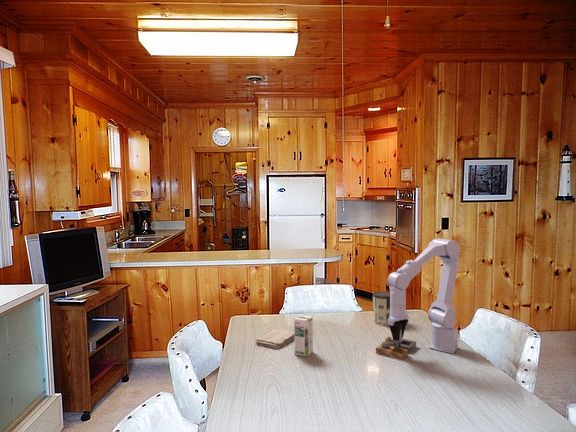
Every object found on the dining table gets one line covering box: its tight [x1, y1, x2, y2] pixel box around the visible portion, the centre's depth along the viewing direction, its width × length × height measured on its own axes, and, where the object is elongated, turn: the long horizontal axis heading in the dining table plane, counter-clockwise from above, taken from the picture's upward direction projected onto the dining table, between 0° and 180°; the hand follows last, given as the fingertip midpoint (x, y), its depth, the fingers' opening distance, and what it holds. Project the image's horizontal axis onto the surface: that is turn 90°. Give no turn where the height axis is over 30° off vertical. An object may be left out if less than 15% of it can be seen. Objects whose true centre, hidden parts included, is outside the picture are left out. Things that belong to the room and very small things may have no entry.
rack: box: [375, 341, 409, 361], centre depth 149 cm, size 11×5×4 cm, turn 52°
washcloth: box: [255, 328, 295, 350], centre depth 166 cm, size 12×18×3 cm, turn 149°
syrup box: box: [293, 314, 314, 358], centre depth 151 cm, size 6×6×14 cm
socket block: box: [389, 337, 417, 354], centre depth 156 cm, size 9×8×2 cm
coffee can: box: [372, 291, 390, 327], centre depth 187 cm, size 10×10×14 cm
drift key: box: [384, 336, 393, 342], centre depth 158 cm, size 5×3×3 cm
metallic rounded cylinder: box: [392, 323, 402, 348], centre depth 147 cm, size 3×3×9 cm
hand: (397, 338), depth 147 cm, fingers closed on metallic rounded cylinder, 3 cm apart
